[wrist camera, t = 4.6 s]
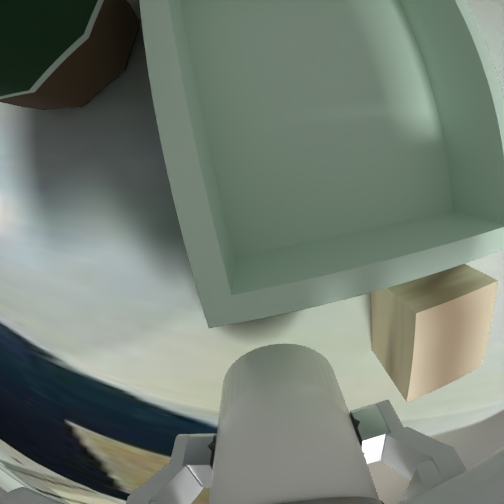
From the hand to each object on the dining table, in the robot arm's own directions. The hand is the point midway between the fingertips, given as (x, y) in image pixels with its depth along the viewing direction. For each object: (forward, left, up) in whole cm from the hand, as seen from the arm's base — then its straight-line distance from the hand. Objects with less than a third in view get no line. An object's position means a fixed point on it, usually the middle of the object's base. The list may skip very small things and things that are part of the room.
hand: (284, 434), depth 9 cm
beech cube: (-8, -1, -6) cm, 10 cm away
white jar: (0, 0, -3) cm, 3 cm away
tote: (-5, -14, -6) cm, 16 cm away
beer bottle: (+7, -19, -6) cm, 21 cm away
